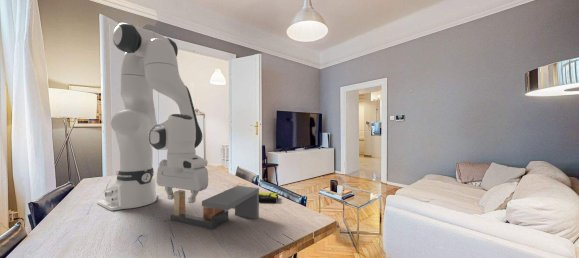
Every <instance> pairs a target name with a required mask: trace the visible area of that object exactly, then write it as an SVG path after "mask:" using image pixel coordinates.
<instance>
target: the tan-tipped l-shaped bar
mask: <svg viewBox="0 0 579 258" xmlns="http://www.w3.org/2000/svg"><path fill="white" fill-rule="evenodd" d="M173 193H174V199H173V213H171V214H170V221H173V222H178V223H182V224H186V225H191V226H194V227H199V228H202V229H203V228H204V229H206V230H207V229H208V230H213V229H215V228H217V227H219V226H220V225H222V224H223V223H225V222H226V221H228V220H229V210H228V211H227V210H223V211H221V212H219V213H217V214H215V215H214V216H212V220H211V219H206V218H203V216H202V217H201V216H197V215H192V214H187V213H186V190H184V189H178V190H176V191H173Z"/></svg>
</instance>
